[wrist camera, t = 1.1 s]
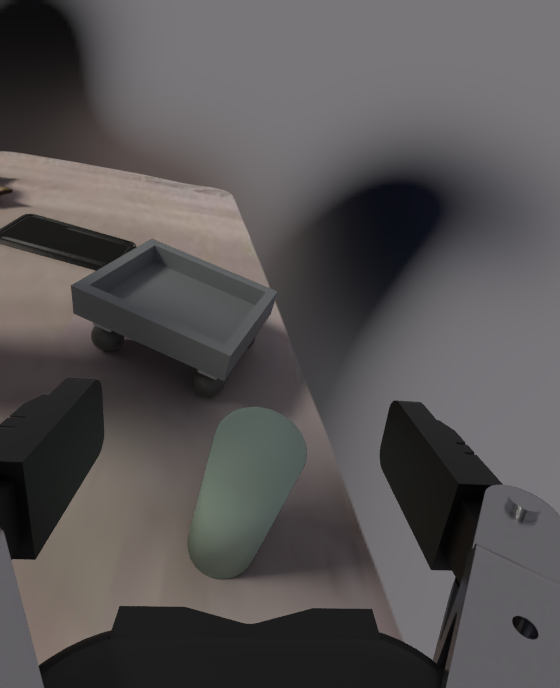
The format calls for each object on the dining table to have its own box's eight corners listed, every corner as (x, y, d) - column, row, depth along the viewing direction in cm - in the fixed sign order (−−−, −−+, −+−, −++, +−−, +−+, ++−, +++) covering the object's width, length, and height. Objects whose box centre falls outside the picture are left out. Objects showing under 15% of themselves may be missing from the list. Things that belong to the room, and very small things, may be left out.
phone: (115, 270, 48) (-11, 235, 46) (115, 278, 48) (-10, 243, 47) (139, 243, 54) (28, 211, 52) (138, 250, 55) (29, 219, 53)
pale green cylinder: (173, 559, 26) (196, 460, 19) (207, 496, 30) (237, 393, 23) (240, 592, 26) (291, 505, 18) (266, 524, 30) (316, 429, 22)
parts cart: (76, 350, 38) (71, 285, 33) (148, 295, 47) (151, 238, 42) (215, 414, 36) (230, 356, 32) (261, 344, 46) (277, 291, 41)
